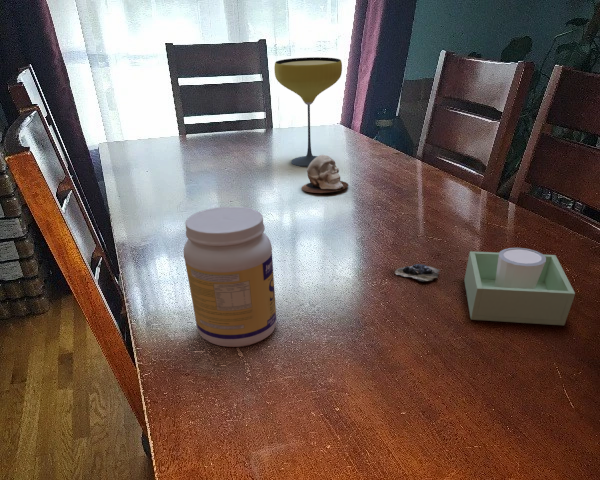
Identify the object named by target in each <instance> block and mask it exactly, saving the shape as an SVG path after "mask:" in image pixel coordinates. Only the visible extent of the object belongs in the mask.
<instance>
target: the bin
mask: <svg viewBox="0 0 600 480" xmlns="http://www.w3.org/2000/svg"><path fill="white" fill-rule="evenodd" d="M543 255H544V256H545V257H546V262H545V265H544V267H543V270H542V272H541V275H540V277H539V280H538V282H537V284H536V287H535V289H522V288H503V287H495V280H496V272H497V264H498V257H499V252H494V251H492V252H491V251H469V254H468V259H467V263H466V269H465V275H464V288H465V293H466V294H465V295H466V300H467V306H468V311H469V312H468V313H469V318H470V320H472V321H488V322H500V323H501V322H504V323H519V324H532V325H533V324H535V325H549V326H550V325H552V326H565V324H566V322H567V318H568V316H569V313H570V311H571V308H572V305H573V302H574V299H575V296H576V292H575V290H574V288H573V286H572V285H571V284H572V283H571V282H570V280H569V279H568V277H567V275H566V273H565V270H564V269H563V267H562V265H561V263H560V261H559V259H558V257H557V255H556V254H543Z"/></svg>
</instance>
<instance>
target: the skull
mask: <svg viewBox="0 0 600 480" xmlns="http://www.w3.org/2000/svg"><path fill="white" fill-rule="evenodd" d="M317 156H318V157H316V158H315V159H314V160H313V161H312V162H311V163H310V164H309V166H308V167H307V169H306V173H307V177H308V181H309V182H307V183H306V184H304V185H302V186H301V190H302V191H303V192H307V193H315V194H323V193H324V194H326V193H334V192H338V191H344V190H346V189H348V187H349V183H347V182H346V181H343V180H341V175H340V174H339V172H340V169H339V167H338V166H337V165H336V160H334V159H333V158H332V157H330V155H326V154H320V155H317Z"/></svg>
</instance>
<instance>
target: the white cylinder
mask: <svg viewBox="0 0 600 480" xmlns="http://www.w3.org/2000/svg"><path fill="white" fill-rule="evenodd" d="M498 253H499V257H498V264H497V272H496V280H495V287H503V288H522V289H535V287H536V284H537V282H538V280H539V277H540V275H541V272H542V270H543V267H544V265H545V262H546V257H545V256H544V255H545V254H543V253H542V252H540V251H537V250H535V249H530V248H524V247H509V248H504V249H502V250H500V251H499V252H498Z"/></svg>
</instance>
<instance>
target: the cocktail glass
mask: <svg viewBox="0 0 600 480" xmlns="http://www.w3.org/2000/svg"><path fill="white" fill-rule="evenodd" d="M273 69H274V77H275V79H276V81H277V82H278V83H279V84H280V85H282V87H284V88H286V89H287V90H289V91H291V92H293V93H294V94H296V95H298V96H299V98H301V100H302V102H303V103H304V104H305V105H307V152H306V155H302V156H298V157H295V158H292V159H291V160H290V161H291V164H292V165H295V166H297V167H303V168H304V167H305V168H308V166H309V164H310V163H311V162H312V161H313V160H314V159H315V158H316V157H318V156H319V155H313V152H312V142H311V141H312V140H311V105H313V103H314V102H315V100H316V98H317V97H318V96H319V95H320V94H321V93H323V92H324V91H326V90H328V89H329V88H331V87H333V86H334V85H335V84H336V83H337V82H338V81H339V80H340V78H341V76H342V73H343V72H342V71H343V62H342V59H340V58H335V57H322V56H321V57H319V56H317V57H314V56H310V57H293V58H286V59H279V60H276V61H275V62H274V67H273Z"/></svg>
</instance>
